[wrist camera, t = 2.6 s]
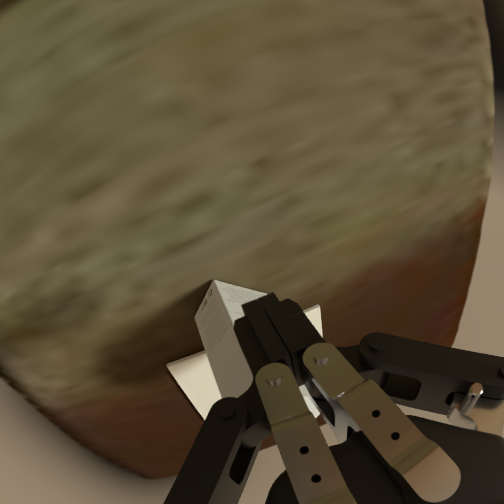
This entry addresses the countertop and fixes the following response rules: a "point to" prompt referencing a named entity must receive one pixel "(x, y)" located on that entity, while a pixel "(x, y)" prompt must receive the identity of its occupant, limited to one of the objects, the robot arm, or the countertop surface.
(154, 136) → the countertop surface
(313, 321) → the mat
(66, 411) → the countertop surface
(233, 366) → the skincare box
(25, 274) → the countertop surface
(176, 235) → the countertop surface
